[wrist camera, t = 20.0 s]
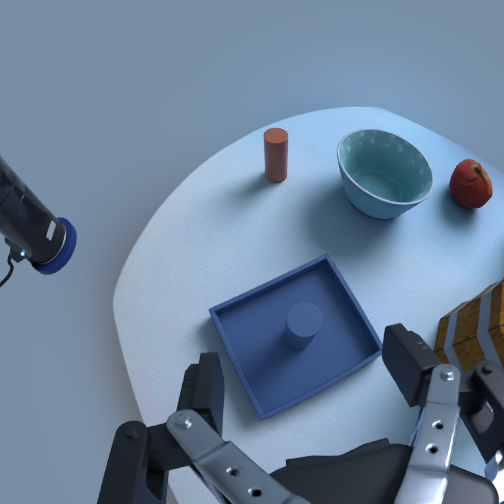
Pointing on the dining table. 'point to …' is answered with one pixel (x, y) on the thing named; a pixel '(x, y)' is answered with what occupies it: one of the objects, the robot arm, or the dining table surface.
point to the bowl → (383, 172)
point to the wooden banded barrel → (474, 331)
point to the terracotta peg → (276, 154)
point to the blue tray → (272, 342)
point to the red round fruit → (470, 184)
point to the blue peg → (302, 325)
